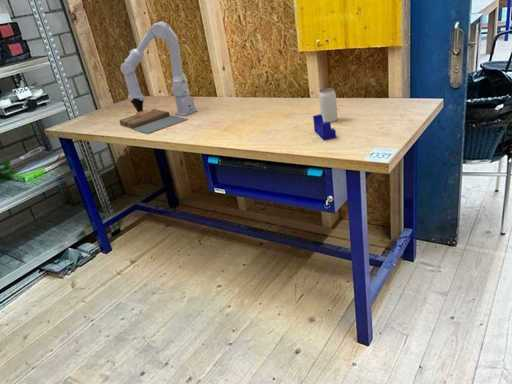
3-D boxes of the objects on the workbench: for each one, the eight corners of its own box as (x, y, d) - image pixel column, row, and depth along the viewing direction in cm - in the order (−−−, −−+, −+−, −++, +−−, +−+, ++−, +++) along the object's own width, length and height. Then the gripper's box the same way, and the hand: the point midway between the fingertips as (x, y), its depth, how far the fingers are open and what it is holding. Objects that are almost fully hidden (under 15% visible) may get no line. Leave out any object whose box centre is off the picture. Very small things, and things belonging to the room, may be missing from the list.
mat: (188, 119, 203) (188, 118, 203) (147, 134, 191) (147, 133, 191) (171, 116, 214) (171, 115, 214) (132, 129, 202) (132, 128, 202)
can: (338, 117, 168) (336, 87, 163) (336, 122, 163) (333, 91, 158) (322, 118, 171) (320, 88, 166) (319, 123, 165) (316, 92, 160)
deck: (170, 116, 214) (168, 112, 213) (134, 129, 203) (133, 124, 202) (155, 113, 225) (154, 109, 224) (120, 125, 215) (119, 120, 214)
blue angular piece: (336, 138, 148) (334, 121, 145) (323, 140, 147) (322, 124, 145) (326, 129, 159) (324, 113, 156) (314, 131, 158) (313, 115, 156)
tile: (153, 114, 213) (152, 110, 213) (142, 117, 210) (141, 114, 209) (147, 113, 218) (146, 109, 218) (136, 116, 215) (135, 112, 214)
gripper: (119, 87, 215) (127, 113, 220) (132, 89, 204) (139, 116, 210) (132, 84, 218) (139, 110, 224) (145, 85, 208) (152, 112, 214)
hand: (140, 113), depth 217 cm, fingers closed
